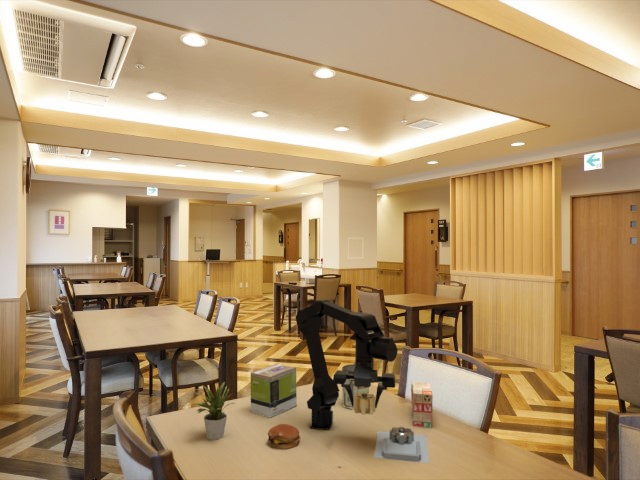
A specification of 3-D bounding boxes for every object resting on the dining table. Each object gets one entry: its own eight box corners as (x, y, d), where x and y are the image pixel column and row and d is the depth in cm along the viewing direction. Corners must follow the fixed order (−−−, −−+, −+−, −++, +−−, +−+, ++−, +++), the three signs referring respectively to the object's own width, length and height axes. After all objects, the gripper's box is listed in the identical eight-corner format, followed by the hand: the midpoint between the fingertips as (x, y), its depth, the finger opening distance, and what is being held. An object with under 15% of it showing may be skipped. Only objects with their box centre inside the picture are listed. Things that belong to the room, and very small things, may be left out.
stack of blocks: (411, 407, 164) (411, 374, 165) (428, 408, 163) (428, 375, 164) (413, 430, 143) (413, 392, 144) (432, 431, 142) (432, 393, 143)
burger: (297, 435, 139) (297, 420, 139) (301, 448, 130) (302, 432, 130) (266, 437, 137) (266, 422, 137) (268, 451, 128) (268, 435, 128)
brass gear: (352, 413, 131) (352, 396, 131) (354, 405, 137) (355, 389, 138) (374, 415, 130) (374, 398, 130) (375, 407, 136) (376, 391, 136)
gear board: (373, 461, 121) (374, 452, 122) (377, 434, 139) (377, 426, 139) (429, 467, 119) (429, 457, 119) (426, 439, 136) (426, 430, 136)
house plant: (199, 425, 146) (200, 375, 146) (240, 425, 145) (241, 376, 146) (185, 444, 132) (186, 389, 132) (230, 445, 131) (231, 390, 132)
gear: (389, 443, 130) (389, 433, 131) (390, 433, 138) (390, 423, 138) (413, 445, 129) (413, 435, 129) (413, 435, 136) (413, 425, 136)
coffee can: (367, 400, 171) (367, 364, 171) (370, 410, 161) (370, 371, 161) (341, 400, 171) (341, 363, 172) (342, 409, 161) (342, 371, 161)
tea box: (277, 400, 170) (277, 362, 170) (297, 406, 164) (297, 367, 164) (249, 412, 158) (250, 371, 158) (270, 418, 152) (270, 376, 152)
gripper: (330, 360, 128) (330, 414, 127) (394, 364, 124) (394, 419, 124) (336, 351, 139) (335, 401, 138) (395, 354, 135) (395, 405, 135)
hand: (364, 406), depth 134 cm, fingers closed on brass gear, 7 cm apart
